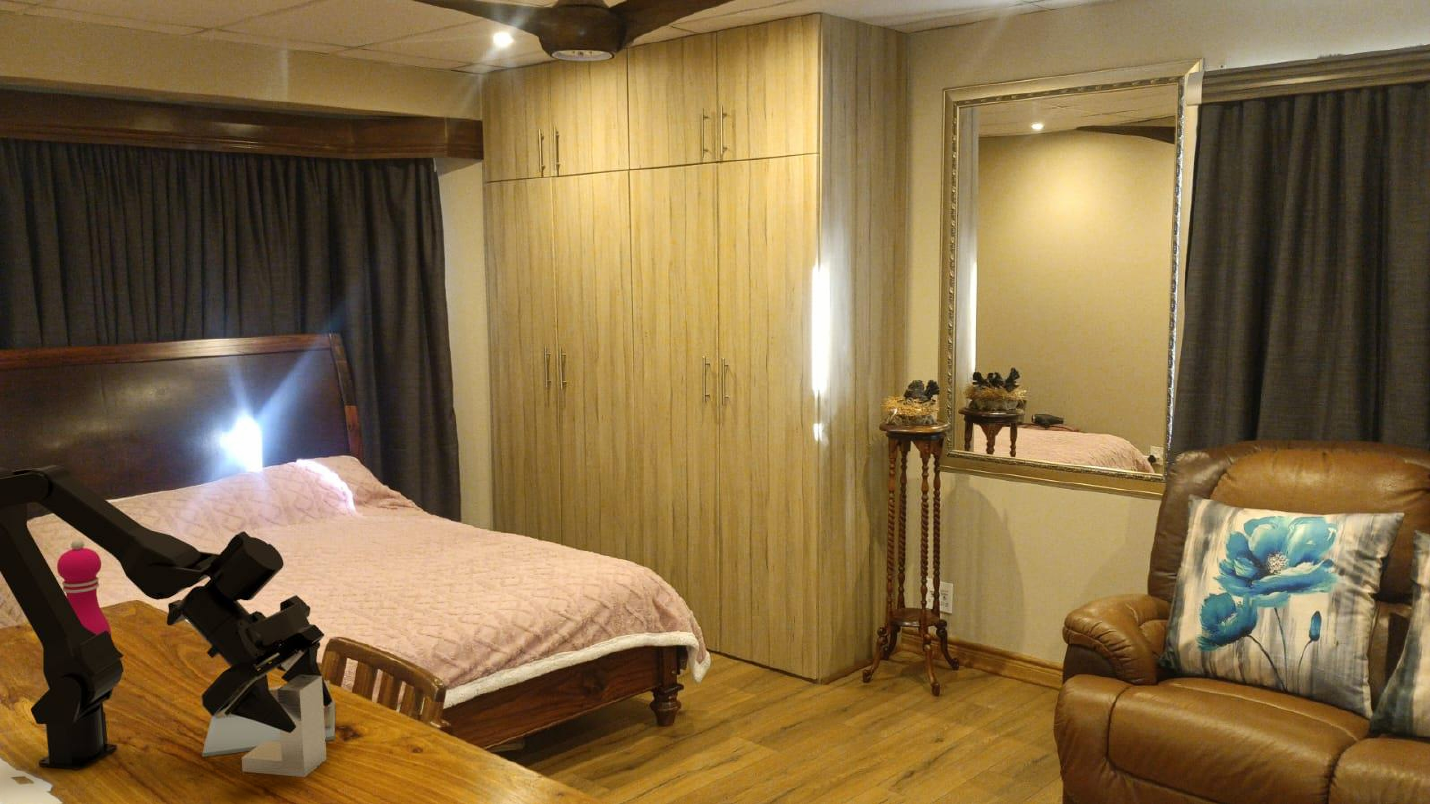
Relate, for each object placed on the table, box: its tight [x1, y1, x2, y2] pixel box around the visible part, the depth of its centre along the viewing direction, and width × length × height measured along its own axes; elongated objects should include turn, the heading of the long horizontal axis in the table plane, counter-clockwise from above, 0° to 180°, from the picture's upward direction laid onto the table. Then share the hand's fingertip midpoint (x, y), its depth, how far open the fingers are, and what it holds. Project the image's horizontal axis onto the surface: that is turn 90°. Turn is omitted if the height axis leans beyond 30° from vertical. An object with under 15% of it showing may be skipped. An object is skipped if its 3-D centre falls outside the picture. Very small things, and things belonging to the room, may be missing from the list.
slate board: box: [201, 699, 336, 758], centre depth 156 cm, size 16×13×1 cm
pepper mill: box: [56, 538, 112, 636], centre depth 181 cm, size 7×7×20 cm
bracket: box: [241, 674, 328, 778], centre depth 145 cm, size 8×5×11 cm, turn 78°
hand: (312, 716), depth 144 cm, fingers open, 8 cm apart
